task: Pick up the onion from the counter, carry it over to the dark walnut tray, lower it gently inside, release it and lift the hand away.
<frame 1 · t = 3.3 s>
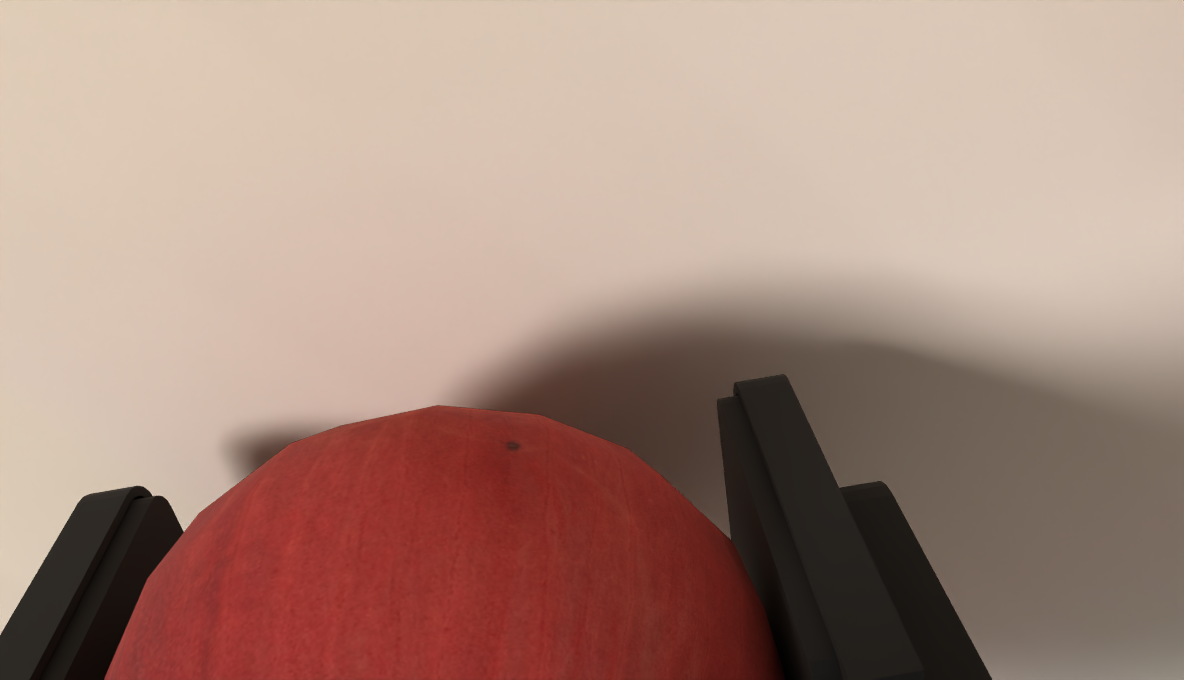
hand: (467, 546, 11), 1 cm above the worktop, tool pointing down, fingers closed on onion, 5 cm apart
onion: (469, 466, 12), on the worktop, touching gripper
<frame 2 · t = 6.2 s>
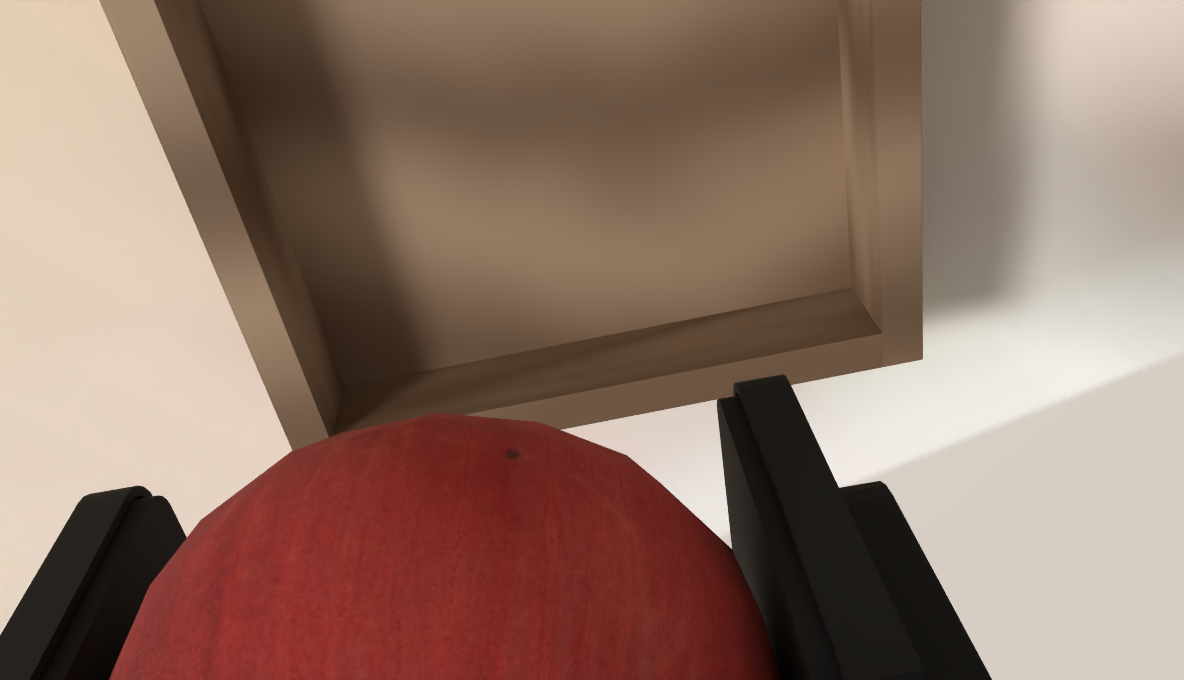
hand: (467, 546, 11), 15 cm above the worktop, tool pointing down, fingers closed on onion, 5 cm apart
walnut tray: (542, 74, 23), on the worktop
onion: (468, 471, 12), point 14 cm above the worktop, touching gripper
when the fingers open (4 cm above the worktop, at t = 9.1 s): onion drops 2 cm, resting on walnut tray.
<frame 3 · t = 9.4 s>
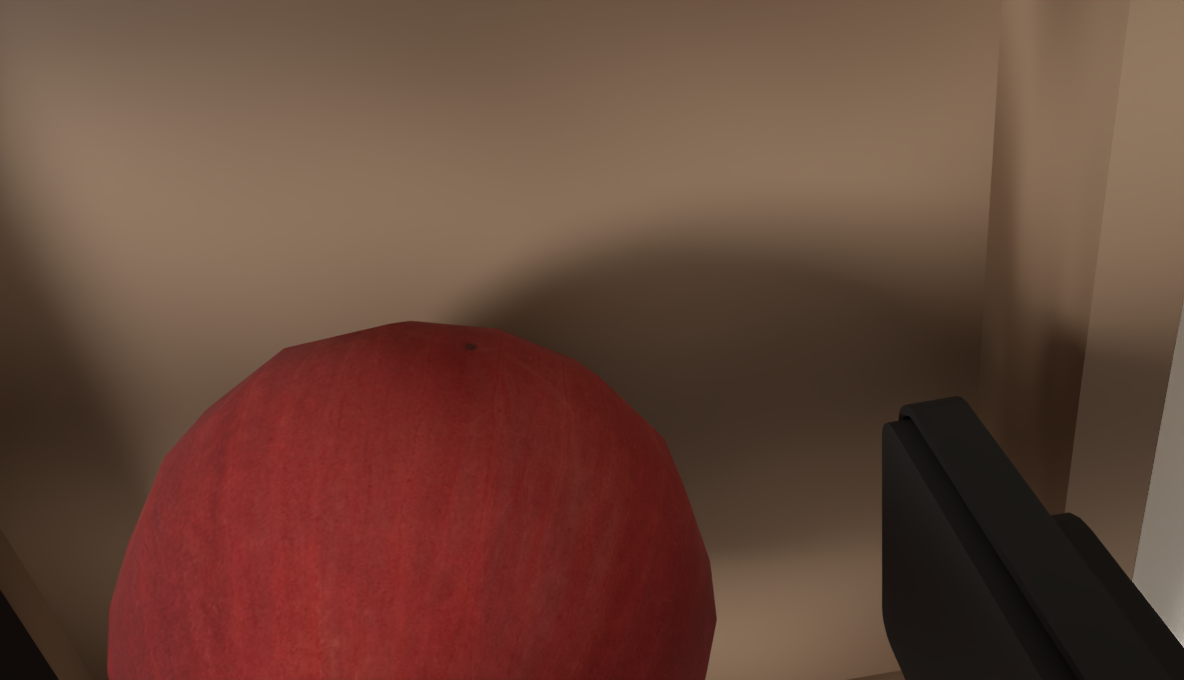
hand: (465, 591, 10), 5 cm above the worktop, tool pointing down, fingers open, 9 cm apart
walnut tray: (476, 359, 14), on the worktop
onion: (444, 389, 13), point 1 cm above the worktop, touching walnut tray
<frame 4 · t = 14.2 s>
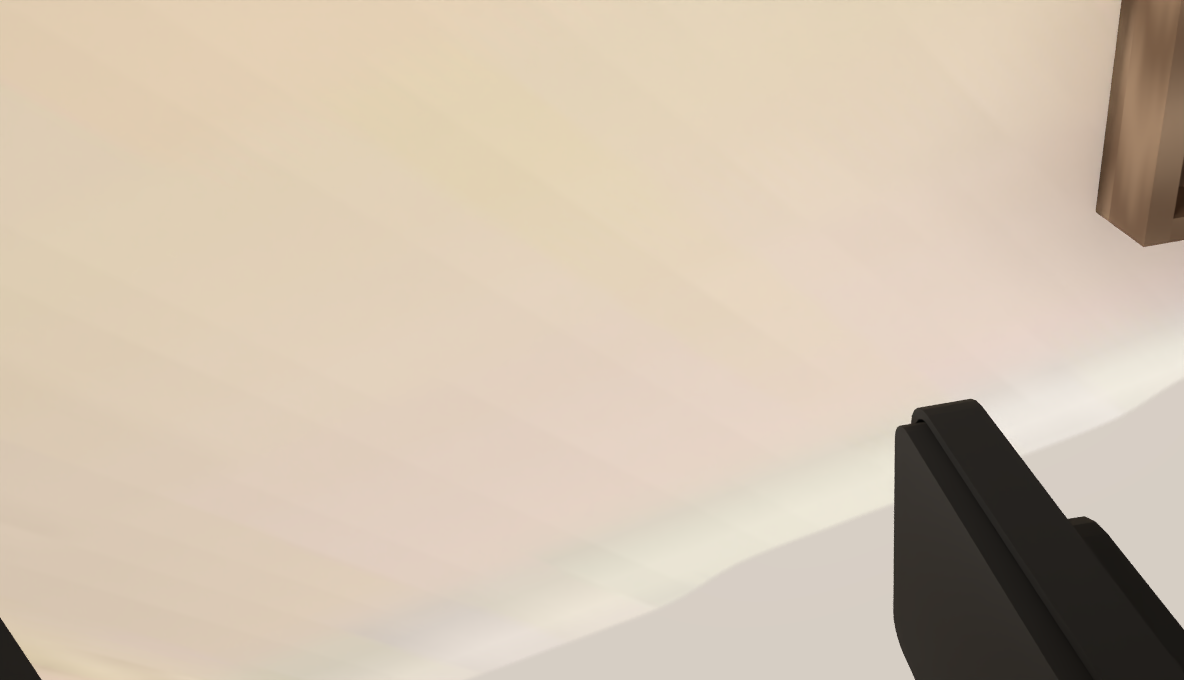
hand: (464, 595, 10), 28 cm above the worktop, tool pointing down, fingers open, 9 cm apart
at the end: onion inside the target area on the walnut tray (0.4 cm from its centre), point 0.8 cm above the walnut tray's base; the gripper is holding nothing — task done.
